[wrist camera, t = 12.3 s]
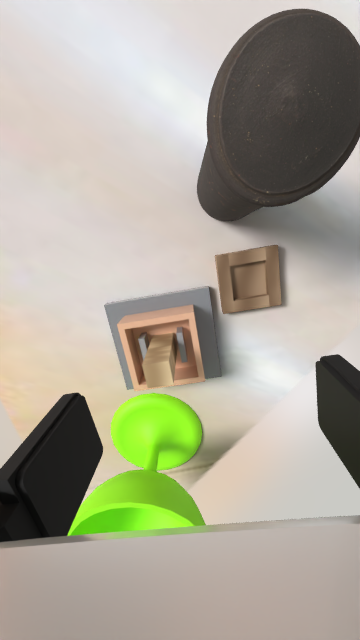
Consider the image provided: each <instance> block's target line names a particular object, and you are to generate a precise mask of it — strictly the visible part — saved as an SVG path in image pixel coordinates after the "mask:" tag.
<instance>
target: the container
mask: <svg viewBox="0 0 360 640" xmlns="http://www.w3.org/2000/svg"><path fill="white" fill-rule="evenodd" d="M207 137H208V142H207V146H206V150H205V153H204V157H203V161H202V165H201V169H200V173H199V177H198V183H197V194H198V199H199V202H200V204H201V206H202V208H203V209H204V210H205V212H206V213H207V214H208V215H210V216H211V217H213V218H215V219H218V220H222V221H233V220H236V219H239V218H242V217H244V216H246V215H248V214H249V213H251V212H253V211H255V210H257V209H259V208H261V207H274V206H282V205H286V204H290V203H293V202H296V201H298V200H299V199H301V198H303V197H304V196H307V195H310V194H312V193H314V192H315V191H317V190H318V189H320V188H321V187H322V186H323V185H325V184H326V183H327V182H328V181H329V180H330V179H331V178H332V177H333V176H334V175H335V174H336V173H337V172H338V171H339V170H340V168H341V167H342V166H343V164H344V163H345V162H346V161H347V159H348V158H349V156H350V155H351V153H352V151H353V150H354V148H355V146H356V144H357V142H358V140H359V137H360V45H359V44H358V42H357V40H356V39H355V37H354V36H353V34H352V33H351V32H350V31H349V29H348V28H347V27H346V26H344V25H343V24H342V23H341V22H339V21H338V20H337V19H335V18H334V17H332V16H330V15H328V14H325V13H322V12H320V11H316V10H310V9H292V10H286V11H282V12H279V13H276V14H273V15H271V16H269V17H267V18H265V19H263V20H261V21H260V22H258V23H257V24H255V25H254V26H253V27H251V28H250V29H249V30H248V31H247V32H246V33H245V34H244V35H243V36H242V37H241V38H240V39H239V40H238V41H237V43H236V44H235V45H234V46H233V48H232V49H231V50H230V52H229V53H228V55H227V57H226V58H225V60H224V62H223V63H222V65H221V67H220V69H219V71H218V73H217V76H216V78H215V81H214V84H213V87H212V90H211V95H210V99H209V104H208V112H207Z"/></svg>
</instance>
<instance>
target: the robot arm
mask: <svg viewBox="0 0 360 640" xmlns="http://www.w3.org/2000/svg"><path fill="white" fill-rule="evenodd" d="M316 382H317V406H318V421H319V426H320V428H321V430H322V432H323V433H324V435H325V436H326V438H327V439H328V441H329V442H330V444H331V445H332V447H333V449H334V450H335V452H336V453H337V454H338V456H339V458H340V459H341V461H342V462H343V464H344V465H345V467H346V468H347V470H348V472H349V473H350V475H351V476H352V478H353V479H354V480H355V482H356V484H357V485H358V487H359V488H360V371H359V370H357V369H356V368H355V367H354V366H353V365H351V364H350V363H349V362H348V361H346V360H345V359H344V358H343V357H341V356H340V355H330V356H323V357H321V358H320V361H317V362H316ZM102 453H103V446H102V443H101V440H100V438H99V435H98V432H97V429H96V427H95V424H94V421H93V419H92V416H91V413H90V410H89V408H88V405H87V402H86V400H85V397H84V396H81V395H80V394H79V393H71V394H65V395H63V396H62V397H61V398H60V399H59V400H58V402H57V403H56V404H55V405H54V406H53V408H52V409H51V410H50V411H49V412H48V413H47V415H46V416H45V417H44V418H43V419H42V421H41V422H40V423H39V424H38V425H37V426H36V428H35V429H34V430H33V431H32V432H31V433H30V435H29V436H28V437H27V438H26V439H25V441H24V442H23V443H22V444H21V445H20V446H19V448H18V449H17V450H16V451H15V452H14V454H13V455H12V456H11V457H10V458H9V459H8V461H7V462H6V463H5V464H4V466H3V467H2V468H1V469H0V640H360V515H358V516H337V517H320V518H304V519H290V520H276V521H260V522H245V523H232V524H218V525H203V526H189V527H175V528H162V529H149V530H135V531H122V532H110V533H97V534H85V535H72V536H67V535H68V533H69V530H70V528H71V526H72V523H73V521H74V519H75V516H76V514H77V512H78V509H79V507H80V505H81V503H82V500H83V498H84V496H85V493H86V491H87V489H88V486H89V484H90V482H91V479H92V477H93V475H94V473H95V470H96V468H97V466H98V463H99V461H100V459H101V456H102Z"/></svg>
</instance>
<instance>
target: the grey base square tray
mask: <svg viewBox="0 0 360 640" xmlns="http://www.w3.org/2000/svg"><path fill="white" fill-rule="evenodd" d="M104 307H105V310H106V314H107V318H108V321H109V325H110V328H111V332H112V336H113V339H114V343H115V347H116V350H117V354H118V358H119V361H120V365H121V368H122V372H123V376H124V379H125V383H126V387H127V390H128V389H134V391H139V390H147V389H154V388H161V387H154V388H148V387H147V383H146V379H145V375H144V371H143V367H142V364H143V361H144V358H145V356H146V353H147V350H148V347H149V345H150V342H151V339H152V337H153V335H159V334H166V333H172V332H173V333H174V338H175V344H176V349H177V356H176V366H175V377H174V385H169V386H175V385H183V384H190V383H197V382H204V381H205V379H207V378H214V377H221V369H220V362H219V355H218V348H217V342H216V335H215V328H214V321H213V314H212V307H211V300H210V293H209V287H208V286H205V287H199V288H193V289H188V290H182V291H176V292H170V293H164V294H158V295H152V296H146V297H140V298H135V299H129V300H123V301H117V302H111V303H106V304H105V305H104ZM162 387H168V386H162Z"/></svg>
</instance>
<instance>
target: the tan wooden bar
mask: <svg viewBox="0 0 360 640" xmlns="http://www.w3.org/2000/svg"><path fill="white" fill-rule="evenodd" d="M176 356H177V349H176V344H175V338H174V333H173V332H172V333H166V334H159V335H153V337H152V339H151V342H150V345H149V347H148V350H147V353H146V356H145V358H144V361H143V364H142V367H143V371H144V375H145V379H146V383H147V387H148V388H154V387H162V386H169V385H174V377H175V366H176Z"/></svg>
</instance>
